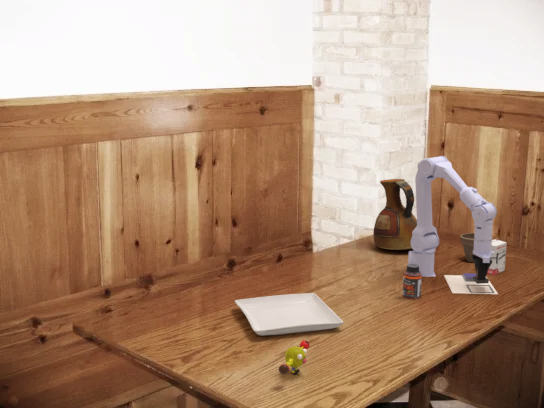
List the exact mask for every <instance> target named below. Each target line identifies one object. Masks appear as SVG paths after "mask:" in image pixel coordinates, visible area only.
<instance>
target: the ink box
mask: <svg viewBox="0 0 544 408" xmlns="http://www.w3.org/2000/svg"><path fill="white" fill-rule="evenodd" d="M491 251H494V252H495V254H492V255H491V256H490V260H492V264H491V265H490V267H489V269H488V272H487V275H491V276H495V275H498V274H500V273H502V272H504V271H505V270H506V269H505V268H506V258H507V257H506V255H507V242H506V241H503V240H500V239H492V245H491Z"/></svg>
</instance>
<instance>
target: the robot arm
mask: <svg viewBox="0 0 544 408" xmlns="http://www.w3.org/2000/svg"><path fill="white" fill-rule="evenodd" d="M436 178H441V179H445V181H447V183H449V185H450V186H452V188H454V189H455V190H456V191H457V192H458V193H459V199H460V200H461V202H462V203H463V204H464V205H465V206H466V207H467V208H468V209H469V210H470V211H471V217H472V219H473V221H474V222H473V224H474V232H473V233H474V250H473V254H474V255H472V258H473V260H474V262H473V263H474V269H475V273H476V272H477V271H478V278H479V279H485V278H486V277H487V275H488V274H487V272H488V269H489V267H490V265H491V264H492V260H490V256H491V255H492V254H495V252H494V251H491V245H492V240H493V225H494V219H495V218H496V217H497V214H498V209H497V208H496V205H494V203H493V202H489V201H487V200H486V199H485V198H484V197H482V195H481V194H480V193H479V192H478V191H479V190H478V189H477V188H474V186H467V184H466V183H465V182H464V180H463V179H462V178H461V176H460V175H459V174H458V173H457V172H456V170H455V169H454V168H453V165H452V162H451V161H449V159H448V158H447V157H446V156H444V155H439V156H434V157H425V158H423V159H421V160H420V161H419V162H418V163H417V172H416V174H415V179H414V180H415V203H416V206H415V208H416V219H417V226H416V228H415V229H414V230H413V232H412V238H411V247H412V249H411V250H409V251H408V258H407V259H408V260H407V265H408V264H417V265H419V271H420V272H421V273H422V277H428V278H429V277H433V278H434V277H437V275H436V273H435V252H436V249H437V248H438V246H439V245H440V237H439V235H438V229H437V228H436V227H435V226H434V224H433V203H432V201H433V200H432V196H433V195H432V182H433V181H434V180H435V179H436Z"/></svg>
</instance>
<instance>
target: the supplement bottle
mask: <svg viewBox="0 0 544 408" xmlns="http://www.w3.org/2000/svg"><path fill="white" fill-rule="evenodd" d="M402 278H403V279H402V282H403V283H402V297H403V298H405V299H408V300H418V299H420V298H421V297H422V296H421V295H422V278H423V276H422V273H421V272H420V271H419V265H417V264H408V263H407V264H406V270H405V271H404V272H403V277H402Z"/></svg>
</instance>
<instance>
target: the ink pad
mask: <svg viewBox="0 0 544 408" xmlns="http://www.w3.org/2000/svg"><path fill="white" fill-rule="evenodd" d="M461 275H462V276H463V278H464V280H465V281H467V282H475V281H473V277H476V272H475V273H472V272H471V273H470V272H469V273H468V272H466V273H465V272H464V273H462V274H461Z"/></svg>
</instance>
